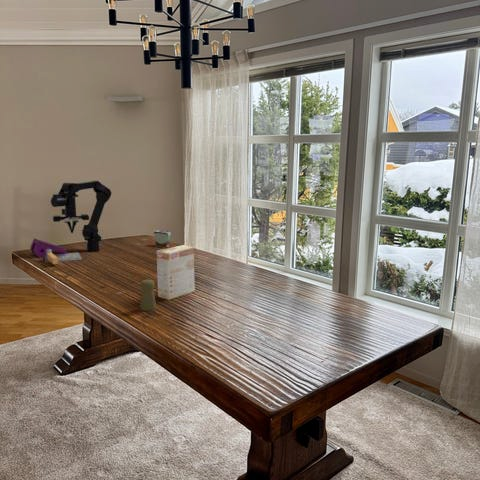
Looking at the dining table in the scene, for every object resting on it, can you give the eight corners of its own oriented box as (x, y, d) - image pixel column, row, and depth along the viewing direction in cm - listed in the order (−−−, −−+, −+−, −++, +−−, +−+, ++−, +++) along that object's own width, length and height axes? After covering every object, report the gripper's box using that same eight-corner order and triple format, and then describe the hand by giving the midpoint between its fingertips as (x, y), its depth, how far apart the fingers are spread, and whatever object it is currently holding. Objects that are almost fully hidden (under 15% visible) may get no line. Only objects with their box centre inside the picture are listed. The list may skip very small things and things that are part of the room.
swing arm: (58, 264, 225) (57, 254, 224) (52, 264, 224) (52, 255, 223) (51, 257, 239) (50, 248, 238) (46, 258, 237) (45, 249, 236)
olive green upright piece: (157, 305, 169) (156, 278, 167) (155, 310, 163) (154, 282, 161) (141, 305, 169) (140, 278, 167) (138, 310, 163) (137, 282, 161)
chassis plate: (78, 254, 253) (78, 251, 253) (81, 259, 240) (81, 257, 240) (44, 257, 245) (44, 254, 245) (45, 262, 233) (45, 260, 232)
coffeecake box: (183, 288, 191) (183, 244, 187) (195, 291, 187) (194, 246, 183) (157, 296, 180) (155, 250, 176) (168, 300, 175) (167, 252, 172)
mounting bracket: (58, 261, 260) (28, 252, 249) (64, 248, 261) (34, 238, 249) (63, 264, 253) (32, 255, 241) (69, 250, 254) (38, 240, 242)
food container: (175, 246, 276) (174, 231, 274) (168, 248, 271) (168, 232, 269) (160, 244, 282) (160, 229, 280) (153, 246, 277) (153, 230, 275)
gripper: (86, 203, 255) (87, 229, 258) (51, 204, 247) (53, 231, 250) (88, 205, 245) (90, 232, 248) (52, 206, 237) (54, 235, 240)
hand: (72, 232), depth 247 cm, fingers closed
